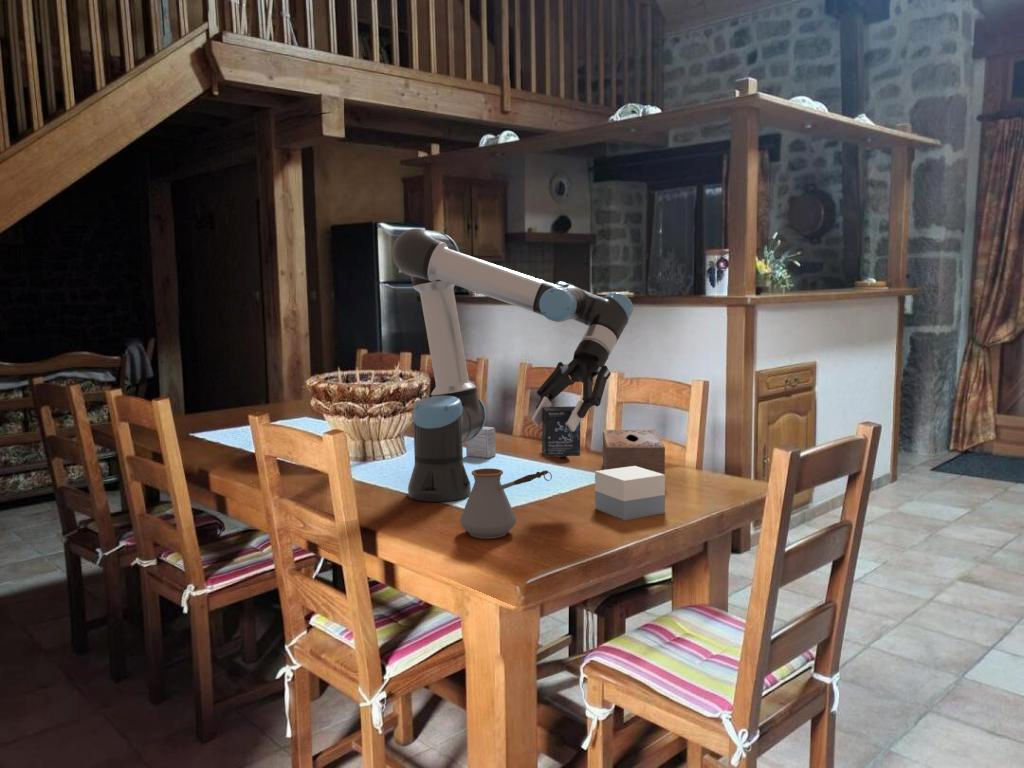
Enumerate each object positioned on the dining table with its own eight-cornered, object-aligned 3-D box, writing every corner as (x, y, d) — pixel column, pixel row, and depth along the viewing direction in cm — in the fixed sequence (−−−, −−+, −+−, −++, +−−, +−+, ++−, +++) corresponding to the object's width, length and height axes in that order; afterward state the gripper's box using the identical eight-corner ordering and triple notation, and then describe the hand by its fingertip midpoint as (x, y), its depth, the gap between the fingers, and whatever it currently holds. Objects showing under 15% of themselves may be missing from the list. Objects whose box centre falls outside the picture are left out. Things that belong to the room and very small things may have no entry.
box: (545, 457, 185) (546, 410, 184) (541, 452, 190) (541, 406, 189) (580, 456, 186) (581, 409, 185) (575, 451, 191) (575, 405, 190)
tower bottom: (624, 521, 179) (624, 501, 179) (595, 510, 189) (595, 490, 188) (664, 514, 185) (664, 494, 184) (634, 503, 194) (634, 484, 194)
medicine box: (496, 456, 249) (495, 427, 248) (487, 458, 245) (487, 429, 244) (474, 453, 253) (473, 425, 252) (465, 456, 249) (465, 427, 248)
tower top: (623, 501, 179) (624, 480, 178) (595, 490, 188) (595, 471, 188) (664, 494, 184) (665, 474, 183) (634, 484, 194) (634, 465, 193)
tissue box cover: (664, 486, 210) (664, 447, 209) (606, 486, 211) (606, 447, 210) (654, 464, 235) (654, 429, 234) (603, 464, 236) (603, 429, 235)
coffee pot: (448, 535, 170) (446, 462, 168) (484, 522, 179) (483, 453, 177) (532, 554, 157) (531, 476, 155) (567, 539, 166) (566, 465, 164)
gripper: (640, 362, 190) (599, 441, 180) (564, 356, 204) (522, 429, 194) (628, 340, 186) (585, 420, 175) (550, 336, 200) (507, 409, 190)
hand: (552, 425), depth 185 cm, fingers closed on box, 9 cm apart
